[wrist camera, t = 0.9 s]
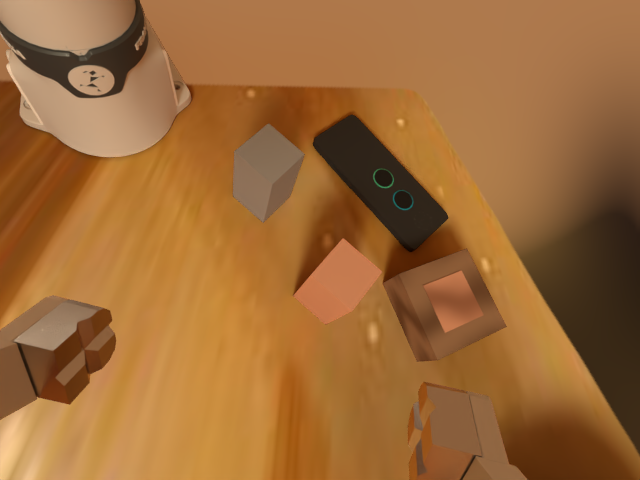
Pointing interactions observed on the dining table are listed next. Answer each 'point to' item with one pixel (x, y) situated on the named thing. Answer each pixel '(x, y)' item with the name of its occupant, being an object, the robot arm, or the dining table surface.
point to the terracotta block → (338, 283)
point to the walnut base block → (443, 306)
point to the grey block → (265, 171)
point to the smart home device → (380, 182)
